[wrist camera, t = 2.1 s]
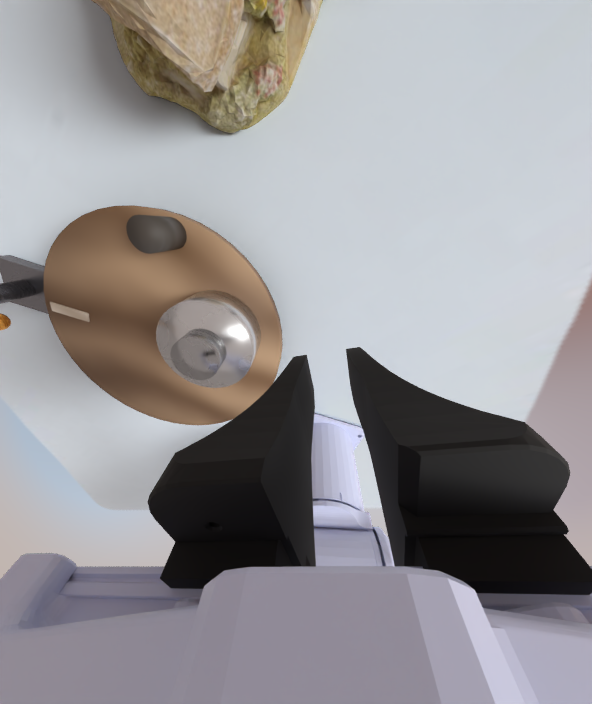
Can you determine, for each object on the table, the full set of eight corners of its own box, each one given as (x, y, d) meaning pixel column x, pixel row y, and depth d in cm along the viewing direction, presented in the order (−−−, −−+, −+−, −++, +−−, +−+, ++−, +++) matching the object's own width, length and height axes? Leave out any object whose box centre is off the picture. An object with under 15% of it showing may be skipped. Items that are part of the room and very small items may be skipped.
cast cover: (250, 377, 21) (235, 412, 17) (175, 353, 21) (141, 384, 17) (270, 307, 18) (258, 331, 14) (181, 277, 17) (140, 292, 13)
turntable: (254, 436, 27) (244, 469, 23) (75, 386, 25) (34, 413, 21) (314, 263, 17) (314, 273, 14) (33, 160, 15) (-55, 139, 12)
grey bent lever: (87, 318, 22) (0, 353, 16) (21, 298, 22) (-94, 326, 16) (81, 278, 20) (-19, 301, 14) (10, 255, 20) (-127, 268, 14)
